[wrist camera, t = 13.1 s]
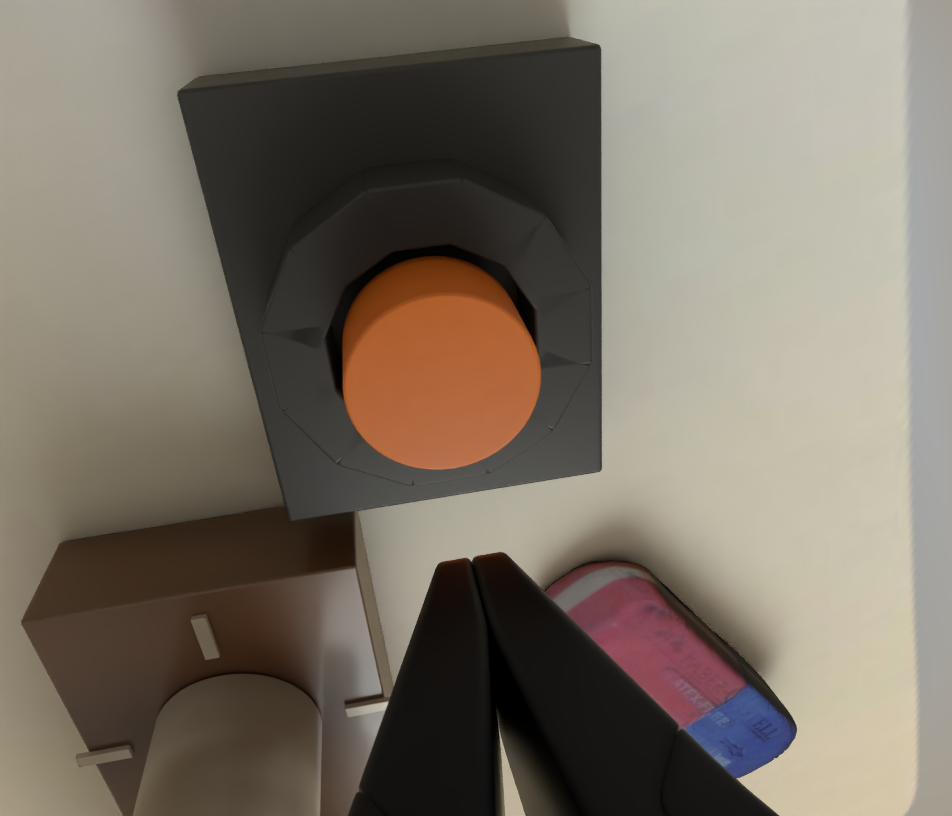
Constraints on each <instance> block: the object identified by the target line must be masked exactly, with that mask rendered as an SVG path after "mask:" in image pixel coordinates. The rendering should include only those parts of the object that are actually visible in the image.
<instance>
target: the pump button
mask: <svg viewBox="0 0 952 816" xmlns="http://www.w3.org/2000/svg"><path fill="white" fill-rule="evenodd" d="M342 359H343V396H344V402H345V406H346V409H347V413H348V415H349V417H350V419H351V422H352V423H353V425H354V427H355V428H356V430H357V431H358V433H359V434H360V435H361V436H362V437H363V439H364V440H365V441H366V442H367V443H368V444H369V445H371V446H372V447H373V448H374V449H375V450H377V451H378V452H380V453H381V454H382V455H384V456H386V457H388V458H390V459H392V460H394V461H396V462H398V463H401V464H404V465H407V466H411V467H415V468H421V469H432V470H442V469H452V468H458V467H462V466H467V465H470V464H473V463H476V462H478V461H480V460H483V459H485V458H487V457H489V456H491V455H492V454H494V453H496V452H497V451H499V450H500V449H502V448H503V447H504V446H506V445H507V444H508V443H509V442H510V441H511V440H512V439H513V438H514V437H515V436H516V435H517V434H518V433H519V432H520V431H521V429H522V428H523V427H524V426H525V424H526V422H527V421H528V419H529V418H530V416H531V414H532V412H533V410H534V407H535V405H536V402H537V399H538V396H539V391H540V385H541V366H540V359H539V355H538V352H537V348H536V346H535V344H534V342H533V339H532V337H531V335H530V334H529V332H528V330H527V328H526V326H525V324H524V322H523V320H522V319H521V317H520V315H519V313H518V311H517V309H516V307H515V305H514V303H513V302H512V300H511V298H510V296H509V295H508V293H507V292H506V290H505V289H504V288H503V287H502V285H501V284H500V283H499V282H498V281H497V280H496V279H495V278H494V277H493V276H491V275H490V274H489V273H487V272H486V271H485V270H483V269H482V268H480V267H478V266H476V265H474V264H472V263H470V262H467V261H464V260H460V259H457V258H452V257H446V256H425V257H418V258H413V259H409V260H406V261H403V262H400V263H397V264H395V265H393V266H391V267H389V268H387V269H385V270H384V271H382V272H381V273H379V274H378V275H376V276H375V277H374V278H373V279H372V280H370V281H369V282H368V283H367V284H366V285H365V286H364V287H363V289H362V290H361V291H360V292H359V294H358V295H357V296H356V298H355V299H354V301H353V303H352V305H351V307H350V309H349V311H348V314H347V317H346V320H345V323H344V329H343V340H342Z"/></svg>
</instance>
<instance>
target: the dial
mask: <svg viewBox="0 0 952 816" xmlns="http://www.w3.org/2000/svg"><path fill="white" fill-rule="evenodd" d="M321 753H322V720H321V715H320V713H319V710H318V708H317V707H316V705H315V704H314V702H313V701H312V700H311V699H310V697H309V696H308V695H306V694H305V693H304V692H303V691H302V690H300V689H298V688H297V687H295V686H294V685H291V684H289V683H287V682H285V681H282V680H279V679H276V678H273V677H269V676H264V675H257V674H228V675H221V676H216V677H212V678H208V679H205V680H202V681H199V682H196V683H194V684H192V685H190V686H188V687H186V688H184V689H183V690H181V691H180V692H178V693H177V694H176V695H174V696H173V697H172V698H171V699H170V700H169V701H168V702H167V703H166V704H165V705H164V707H163V708H162V710H161V711H160V713H159V715H158V717H157V719H156V723H155V727H154V731H153V735H152V739H151V743H150V747H149V751H148V755H147V759H146V763H145V767H144V771H143V775H142V780H141V784H140V788H139V792H138V796H137V800H136V804H135V808H134V812H133V816H320V796H321Z"/></svg>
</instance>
